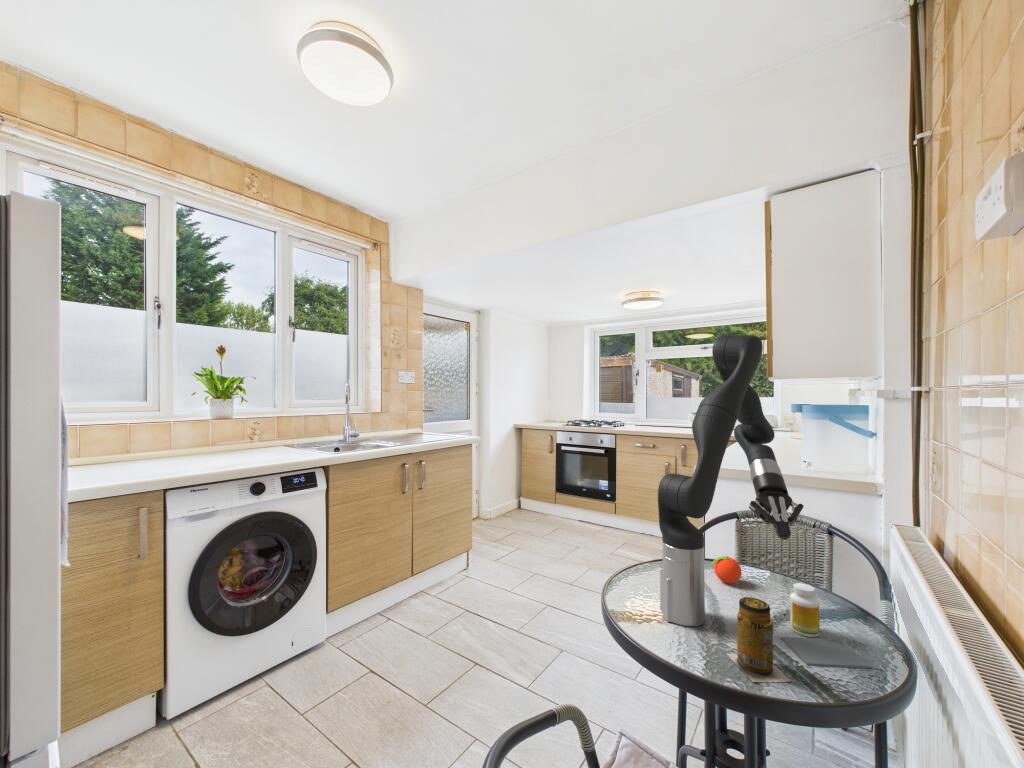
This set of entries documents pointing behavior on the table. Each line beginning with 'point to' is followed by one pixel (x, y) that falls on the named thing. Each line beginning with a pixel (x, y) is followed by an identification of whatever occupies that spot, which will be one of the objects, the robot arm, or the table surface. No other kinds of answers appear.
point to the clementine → (727, 569)
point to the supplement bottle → (804, 611)
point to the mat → (825, 652)
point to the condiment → (756, 642)
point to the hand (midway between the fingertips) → (785, 538)
